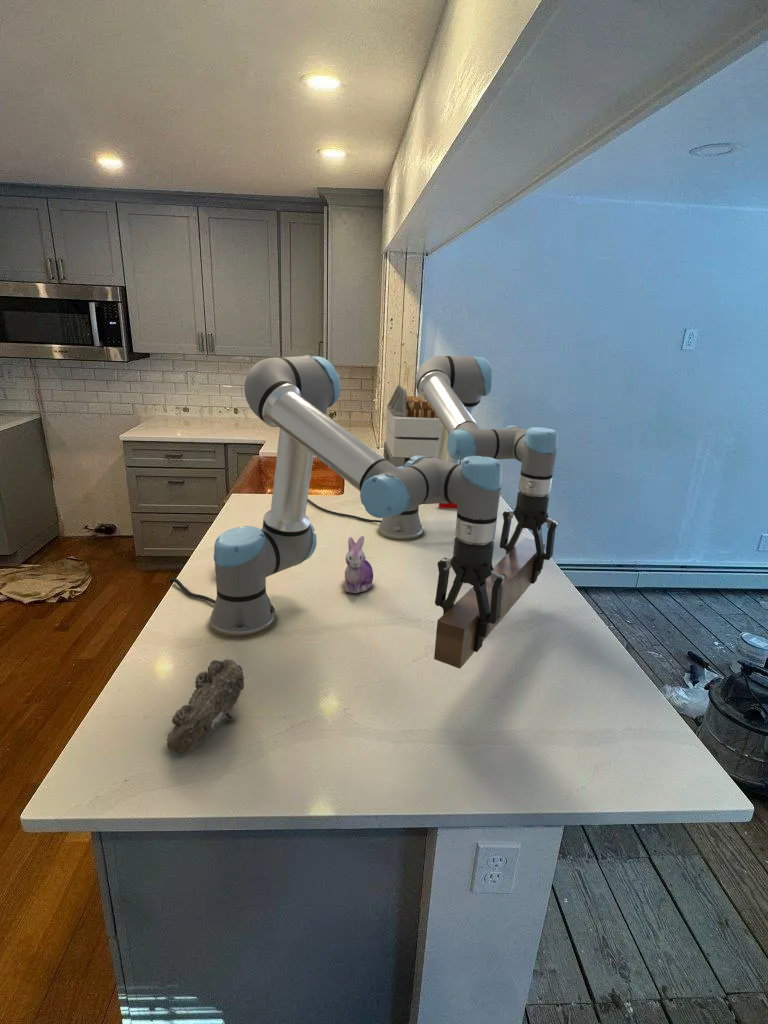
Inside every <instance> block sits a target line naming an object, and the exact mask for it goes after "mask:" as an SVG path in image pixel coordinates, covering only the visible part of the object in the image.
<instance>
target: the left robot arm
mask: <svg viewBox="0 0 768 1024" xmlns="http://www.w3.org/2000/svg"><path fill="white" fill-rule="evenodd" d="M243 388H244V389H243V390H244V396H245V400H246V403H247V404H248V406H249V409H250V410H251V411H252V412H253V413H254V415H255V416H256V417H257V418H258V419H260V421H262V422H263V423H265V425H267V426H268V427H271V428H279V434H278V442H277V450H276V451H277V453H276V459H275V460H276V461H275V469H274V478H273V486H272V496H271V505H270V510H268V511H266V512H265V513H264V515H263V521H262V527H261V528H260V527H257V526H251V525H244V526H242V527H240V526H237V527H232V528H229V529H227V530H226V531H224V532H222V533H220V534H219V535H218V536H217V538H216V539H215V541H214V545H213V546H214V547H213V549H214V551H213V561H214V572H215V573H214V574H215V585H216V587H215V589H216V598H215V599H213V598H211V597H209V596H206V595H203V594H199V593H198V594H197V593H193V592H191V591H190V590H189V589H188V588H187V587H186V586H184V584H183V583H182V582H181V581H180V580H179V579H178V578H175V577H171V578H170V580H169V581H168V582H169V583H175V584H176V585H177V586H178V587H179V588H180V589H181V590H182V591H183V592H184V593H185V594H186V595H187V596H189V597H192V598H194V599H200V600H205V601H207V602H210V603H211V604H213V605H214V606H213V609H212V612H211V615H210V626H211V627H210V628H211V629H212V630H213V632H215V633H216V634H218V635H219V636H220V635H221V636H223V637H227V638H232V639H233V638H235V639H239V638H249V637H254V636H258V635H259V634H262V633H264V632H266V631H268V630H269V629H270V628H271V627H272V626H273V624H274V622H275V614H276V611H275V607H274V605H273V604H272V603H271V600H270V598H269V595H268V593H267V577H270V576H272V575H275V574H277V573H279V572H283V571H285V570H287V569H290V568H293V567H296V566H298V565H301V564H302V563H304V562H306V561H307V560H309V559H310V558H311V557H312V556H313V554H314V553H315V551H316V548H317V542H318V541H317V539H318V538H317V533H315V530H316V529H315V527H314V525H313V524H312V522H311V518H309V516H308V515H307V514H306V513H307V512H306V511H307V505H308V501H307V499H309V498H308V497H309V492H310V485H311V484H310V483H311V477H312V471H313V465H314V464H313V463H314V457H316V458H318V459H319V460H320V461H321V462H322V463H323V464H325V465H326V466H328V468H330V469H331V470H332V471H333V472H335V473H336V474H337V475H339V476H340V477H341V478H343V479H344V480H345V481H347V483H349V484H350V485H351V486H352V487H354V488H355V489H356V490H358V491H359V497H360V502H361V505H363V507H364V509H365V510H364V511H366V512H367V513H368V514H369V515H370V516H371V517H374V518H377V519H383V518H386V517H390V516H394V515H398V514H401V513H402V512H404V511H406V510H408V509H411V508H413V507H415V506H418V505H419V506H421V505H424V504H423V503H426V502H429V501H431V500H434V499H438V500H442V501H445V502H449V503H453V504H457V508H456V521H455V530H454V534H455V537H454V539H453V540H454V541H453V551H452V558H447V557H443V558H441V559H440V560H439V561H438V562H437V569H438V576H437V577H438V578H437V586H436V593H435V599H434V605H435V606H437V607H440V608H441V609H442V610H443V611H442V616H443V615H444V614H445V613H446V612H447V611H448V610H449V609H450V608H451V607H452V606H453V605H454V604H455V603H456V600H457V598H458V596H459V593H460V591H461V589H462V587H463V585H464V584H469V585H471V587H473V588H474V591H475V592H476V598H477V603H478V609H479V614H480V620H479V621H478V622H477V625H476V633H475V642H474V651H475V652H474V653H478V652H479V650H480V649H481V648H482V647H483V643H484V641H483V637H484V638H485V636H486V635H487V634H488V632H489V623H492V624H495V623H496V622H497V620H498V619H499V618H500V611H501V599H502V586H503V583H504V581H505V579H506V575H505V574H501V575H500V574H499V573H497V572H495V571H494V570H493V567H494V566H493V556H494V550H495V542H494V541H495V539H496V531H497V524H498V523H497V522H498V512H499V504H500V497H501V492H502V491H501V490H502V487H503V483H502V482H503V481H502V480H503V479H502V478H503V465H502V463H501V462H500V461H499V459H494V458H490V457H481V456H469V457H466V458H464V459H463V460H462V462H461V465H460V464H456V463H451V462H447V461H443V460H439V459H435V458H433V457H430V456H426V457H425V456H413V457H411V458H410V459H409V461H408V462H406V463H405V465H404V467H403V468H400V469H399V468H397V467H395V466H394V465H393V464H391V463H390V462H388V461H387V460H386V459H384V456H382V455H380V454H379V453H377V451H375V450H373V449H372V448H371V447H369V445H367V444H365V443H364V442H363V441H361V439H360V438H357V437H356V436H355V435H353V434H352V433H351V432H349V430H347V429H345V428H344V427H343V426H341V425H340V424H338V423H337V421H335V420H333V419H332V418H331V417H329V416H328V415H327V412H328V408H331V407H332V406H334V404H336V403H337V402H338V401H339V398H340V396H341V380H340V376H339V374H338V372H337V371H336V368H335V366H334V365H333V364H332V363H331V362H330V361H329V360H328V359H326V358H325V357H322V356H318V355H317V356H316V355H315V356H314V355H309V354H305V355H299V356H284V357H267V358H264V359H262V360H260V361H258V362H256V363H255V364H254V365H253V366H252V367H251V368H250V369H249V371H248V373H247V375H246V377H245V380H244V386H243ZM451 568H452V570H453V573H454V574H455V577H454V580H453V581H452V585H451V588H450V590H449V592H448V586H449V585H448V584H449V577H450V571H451V570H450V569H451ZM489 576H490V577H491V578H492V580H491V582H492V584H493V587H492V596H491V610H490V608H489V602H488V596H487V591H486V579H487V578H488V577H489ZM447 592H448V595H447Z"/></svg>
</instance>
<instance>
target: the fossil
mask: <svg viewBox="0 0 768 1024" xmlns="http://www.w3.org/2000/svg"><path fill="white" fill-rule="evenodd" d="M243 670H244V669H243V667H242V665H240V664H237V662H236V661H235V660H234V659H232V658H231V659H227V658H226V659H224V660H223V661H222V660H217V659H212V660H211V661H210V663H209V665H208V666H207V671H201V672H199V673H198V674H197V675H196V676H195V680H194V684H195V685H194V687H195V689H194V690H193V693H192V694H191V697H190V698H189V700H188V704H184V705H182V706H181V707H180V709H177V710H176V711H175V713H174V715H173V716H172V718H171V723H172V724H173V727H172V730H171V731H170V732H168V734H167V738H166V741H167V742H166V745H167V749H168V750H169V751H173V752H174V753H176V754H178V753H182V752H188V751H189V752H192V751H193V750H195V748H196V747H197V746H199V744H200V743H201V742H203V741H204V740H205V739H206V738H207V737H208V736H209V735H210V734H211V733H212V732H214V730H215V729H217V727H218V726H219V724H220V722H221V721H222V720H223V719H224V718H225V716H226V717H227V719H229V720H233V717H232V715H230V714H229V710H230V709H231V708H234V706H235V704H236V703H237V702H238V699H239V697H240V695H241V693H242V691H243V690H245V689H244V688H245V675H244V671H243Z"/></svg>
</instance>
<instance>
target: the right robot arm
mask: <svg viewBox="0 0 768 1024" xmlns="http://www.w3.org/2000/svg"><path fill="white" fill-rule="evenodd" d="M493 378H494V377H493V369H492V366H491V364H490V362H489V361H488V359H487V358H485V357H483V356H475V355H436V356H433V357H430V358H429V359H426V360H425V361H424V362H423V363H422V364H421V365H420V367H419V368H418V370H417V372H416V375H415V379H414V381H415V388H416V392H417V393H418V395H419V397H421V398H422V399H423V400H425V401H427V402H429V404H430V406H431V407H432V409H433V410H434V412H435V414H436V415H437V417H438V418H439V420H440V422H441V423H442V427H441V431H440V435H439V440H438V444H437V449H436V453H435V459H439V460H443V461H447V462H451V463H456V464H459V462H460V460H463V459H464V458H466V457H469V456H481V457H490V458H494V459H496V460H516V461H518V462H520V463H521V467H520V473H519V482H518V490H519V491H518V492H517V498H516V505H515V508H514V510H513V509H512V510H510V509H506V510H505V511H503V512H502V518H503V524H502V530H501V535H500V540H499V548H500V549H503V550H504V551H505V556H506V555H507V554H508V553H509V552H510V551H511V550H512V549H513V548H514V547H515V546H516V545H517V542H518V540H519V538H520V536H521V534H522V532H523V530H524V529H528V530H529V531H532V535H533V538H534V539H533V540H535V545H536V552H537V557H536V558H535V559H534V565H533V571H532V578H531V583H532V584H531V585H534V584H535V583H536V582H537V581H538V577H539V575H538V572H540V571H541V572H542V570H543V569H544V563H545V560H546V561H549V560H551V558H552V557H553V555H554V547H555V539H556V538H555V537H556V529H557V528H558V526H559V520H557V519H555V520H554V519H552V518H550V517H549V514H548V508H549V504H550V503H549V502H550V495H549V494H550V493H551V491H552V482H553V475H554V470H555V464H556V458H557V454H558V453H557V452H558V447H559V446H558V442H559V434H558V432H557V431H556V430H554V429H552V428H548V427H540V426H535V427H529V428H527V429H525V428H524V427H522V426H516V425H508V426H505V427H503V428H481V427H480V426H479V424H478V423H477V422H476V420H475V419H474V418H473V416H472V415H473V412H474V409H475V408H476V407H478V406H479V405H480V403H481V400H482V397H486V396H488V395H489V394H491V392H492V389H493V385H494V382H493V381H494V379H493ZM403 467H404V466H401V467H397V468H399V469H400V468H403ZM307 503H309V504H311V505H312V506H313V507H314V508H317V509H319V510H321V511H323V512H325V513H329V514H332V515H337V516H340V517H341V516H342V517H347V518H352V519H357V520H359V521H364V522H369V523H379V525H378V533H379V534H380V535H381V536H382V537H385V538H387V539H389V540H395V541H410V540H415V539H418V538H420V537H421V536H422V535H423V525H422V524H421V518H420V515H419V507H420V505H418V506H415V507H413V508H411V509H408V510H406V511H404V512H402V513H401V514H398V515H394V516H390V517H386V518H381V519H369V518H364V517H360V516H356V515H353V514H348V513H342V512H336V511H332V510H331V509H330V510H329V509H326V508H324V507H321V506H319V505H317V504H316V503H314V502H313V501H312V500H310V499H309V498H308V499H307ZM439 503H444V504H447V503H449V502H445V501H442V500H438V499H434V500H431V501H429V502H426V503H423V504H422V505H435V504H438V505H439ZM513 518H514V519H516V522H517V524H516V527H515V529H514V531H513V533H512V536H511V537H510V540H509V536H510V531H511V525H512V519H513ZM544 524H546V527H547V528H548V530H547V534H546V542H545V549H544V545H543V542H544V539H543V528H542V527H543V525H544ZM537 576H538V577H537Z"/></svg>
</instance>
